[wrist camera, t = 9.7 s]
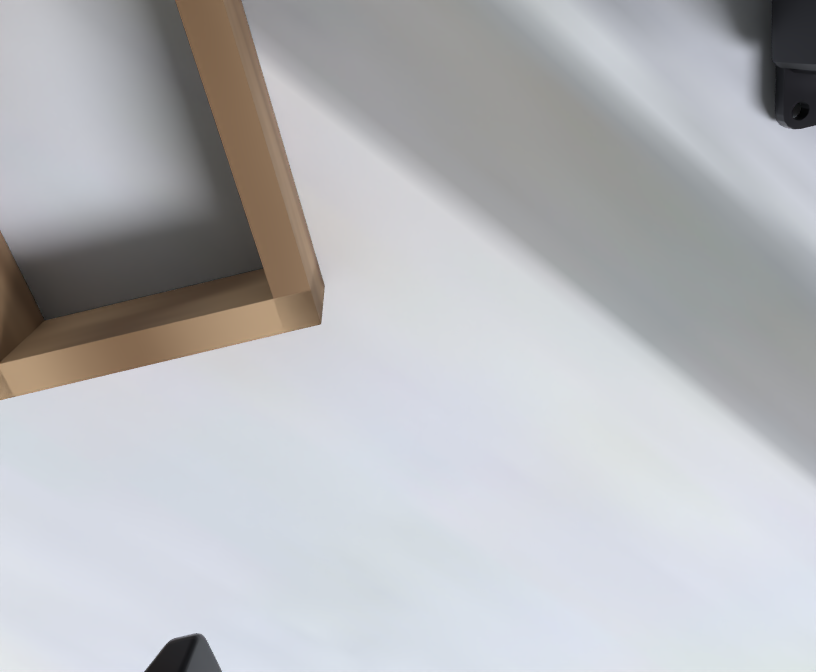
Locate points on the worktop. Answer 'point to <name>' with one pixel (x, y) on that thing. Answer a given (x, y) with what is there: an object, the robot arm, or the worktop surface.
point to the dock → (202, 303)
